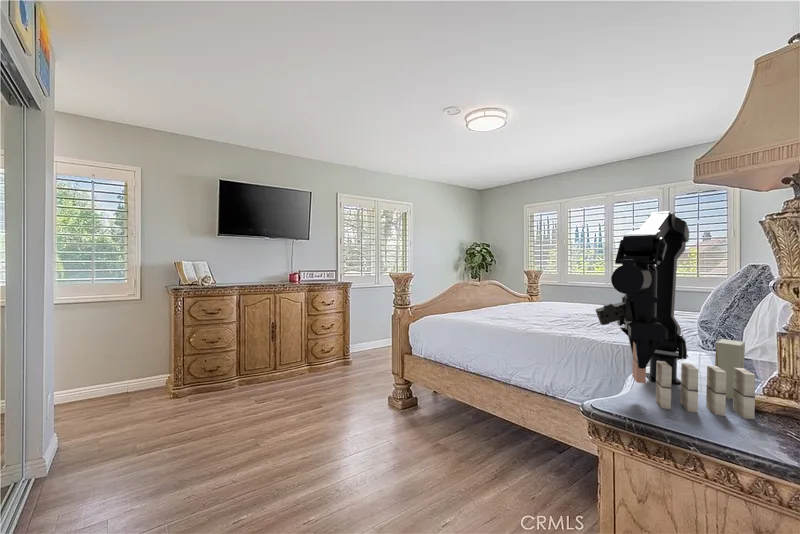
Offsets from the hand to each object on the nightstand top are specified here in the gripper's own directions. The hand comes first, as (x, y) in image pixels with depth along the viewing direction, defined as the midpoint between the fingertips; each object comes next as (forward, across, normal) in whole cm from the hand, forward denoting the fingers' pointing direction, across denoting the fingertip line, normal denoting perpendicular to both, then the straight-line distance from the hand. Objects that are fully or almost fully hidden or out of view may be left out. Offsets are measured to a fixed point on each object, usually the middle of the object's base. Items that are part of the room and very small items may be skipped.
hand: (639, 365), depth 85 cm
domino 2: (+8, 0, +9) cm, 12 cm away
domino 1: (+3, 0, 0) cm, 3 cm away
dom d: (+8, 0, +13) cm, 15 cm away
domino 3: (+8, 0, +18) cm, 20 cm away
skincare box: (+8, -13, +20) cm, 25 cm away
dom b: (+8, 0, +4) cm, 9 cm away
